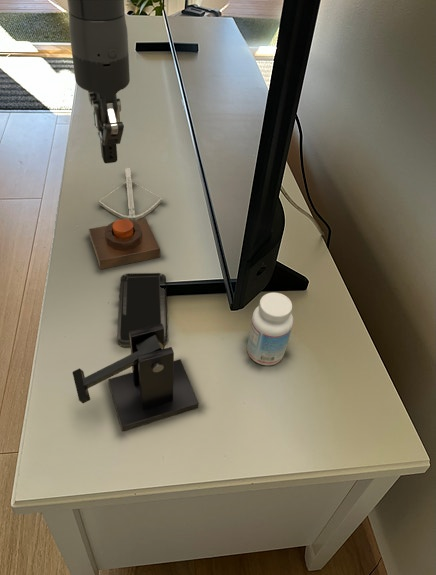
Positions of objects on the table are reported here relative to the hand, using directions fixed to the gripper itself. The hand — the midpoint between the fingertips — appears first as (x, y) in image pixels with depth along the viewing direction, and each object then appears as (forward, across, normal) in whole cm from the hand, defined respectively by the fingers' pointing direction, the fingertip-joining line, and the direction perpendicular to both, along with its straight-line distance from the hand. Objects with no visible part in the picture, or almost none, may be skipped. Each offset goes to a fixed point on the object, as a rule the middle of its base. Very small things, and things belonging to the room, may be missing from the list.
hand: (109, 160), depth 79 cm
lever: (+10, +33, -6) cm, 35 cm away
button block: (+18, 0, +1) cm, 18 cm away
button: (+15, +1, +1) cm, 15 cm away
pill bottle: (+19, +30, +16) cm, 39 cm away
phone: (+19, +16, 0) cm, 25 cm away
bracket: (+19, +33, -2) cm, 38 cm away
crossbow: (+18, -14, +6) cm, 24 cm away
